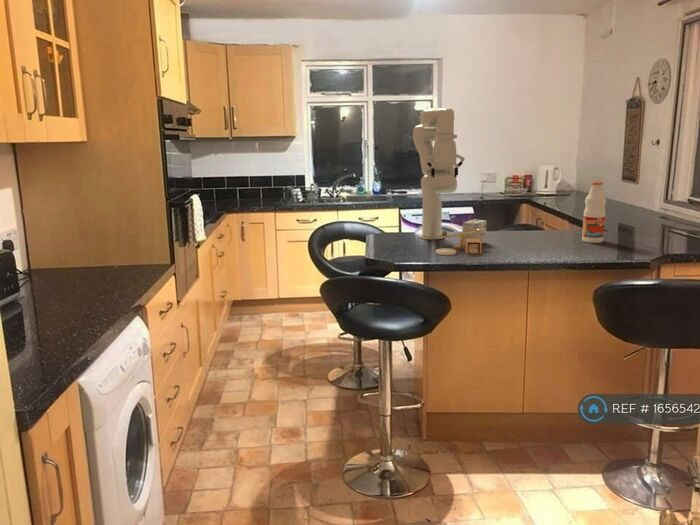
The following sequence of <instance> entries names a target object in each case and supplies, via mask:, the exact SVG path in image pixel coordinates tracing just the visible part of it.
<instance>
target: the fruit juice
mask: <svg viewBox="0 0 700 525" xmlns="http://www.w3.org/2000/svg"><path fill="white" fill-rule="evenodd" d="M590 184H591V187H590V190H589V193H588V194H587V196H586V197H585V200H584V204H585V208H584V210H583V220H582V233H581V241H582V242H584V243H591V244H592V243H593V244H598V243H602V242H603V241H604V238H605V237H604V235H605V226H606V225H605V223H606V208H605V207H606V204H607V198H606V196H605V195H604V194H605V193H604V190H603V187H602V186H603V184H604V183H603V181H591V182H590Z"/></svg>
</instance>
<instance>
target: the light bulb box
mask: <svg viewBox="0 0 700 525" xmlns="http://www.w3.org/2000/svg"><path fill="white" fill-rule="evenodd" d="M477 228H481V229H484V231H480V232H477V233H472V234H466V235H464V237H463V245H465V239H480V240H481V241H482V244H485V243H486V241H487V240H486V239H487V238H486V237H487V220H484V219H475V218H474V219H471V220H467V221H462V233H466V232H471V231H475V229H477Z"/></svg>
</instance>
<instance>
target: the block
mask: <svg viewBox="0 0 700 525" xmlns="http://www.w3.org/2000/svg"><path fill="white" fill-rule="evenodd" d="M468 254H479V252H478V243H468Z"/></svg>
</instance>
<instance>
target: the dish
mask: <svg viewBox="0 0 700 525" xmlns="http://www.w3.org/2000/svg"><path fill="white" fill-rule="evenodd" d="M435 254H436V255H439V256H440V255H441V256H454V255H457V249H454V248H447V247H444V248H443V247H442V248H437V249H435Z"/></svg>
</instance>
